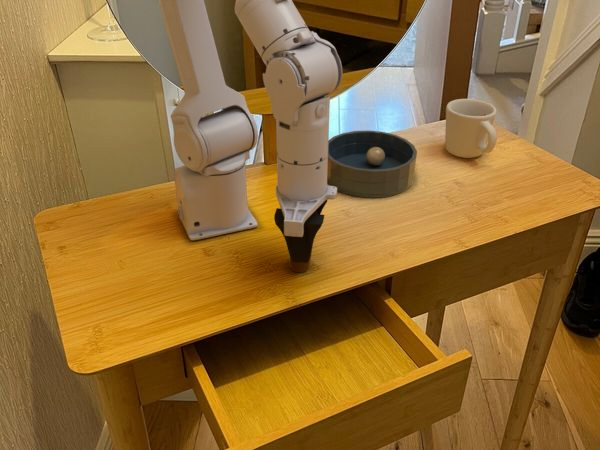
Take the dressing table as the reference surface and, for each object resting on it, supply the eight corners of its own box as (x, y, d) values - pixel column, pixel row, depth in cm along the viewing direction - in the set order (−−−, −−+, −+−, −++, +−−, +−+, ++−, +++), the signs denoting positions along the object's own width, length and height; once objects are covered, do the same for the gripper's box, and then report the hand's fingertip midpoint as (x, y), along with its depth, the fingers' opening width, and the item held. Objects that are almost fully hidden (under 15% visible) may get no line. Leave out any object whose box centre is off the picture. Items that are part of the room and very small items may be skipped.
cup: (509, 165, 102) (518, 119, 97) (467, 173, 99) (475, 126, 95) (470, 138, 110) (477, 95, 106) (431, 146, 108) (437, 102, 103)
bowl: (347, 205, 91) (348, 178, 88) (309, 163, 102) (309, 138, 99) (431, 187, 95) (434, 161, 93) (385, 149, 106) (388, 125, 104)
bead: (372, 172, 100) (380, 162, 97) (359, 159, 100) (367, 148, 98) (383, 163, 101) (391, 153, 99) (370, 150, 102) (378, 140, 99)
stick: (294, 274, 77) (301, 220, 72) (285, 262, 78) (291, 208, 74) (313, 270, 78) (320, 216, 73) (303, 258, 80) (310, 205, 75)
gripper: (332, 187, 63) (328, 293, 70) (343, 129, 75) (339, 224, 83) (263, 183, 64) (266, 287, 71) (285, 125, 76) (286, 220, 83)
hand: (301, 253), depth 77 cm, fingers closed on stick, 2 cm apart
